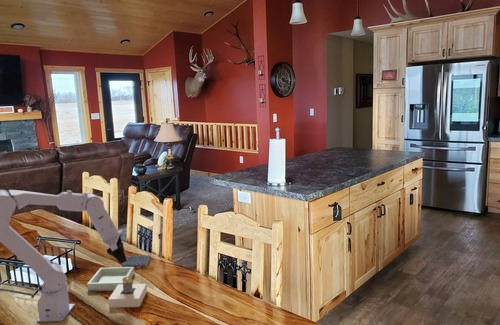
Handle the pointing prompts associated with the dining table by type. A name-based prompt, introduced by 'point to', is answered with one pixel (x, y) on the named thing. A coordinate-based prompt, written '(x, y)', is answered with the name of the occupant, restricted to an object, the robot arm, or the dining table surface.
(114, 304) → the block
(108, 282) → the tray
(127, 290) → the steel pin
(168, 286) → the dining table surface
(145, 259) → the woven mat
